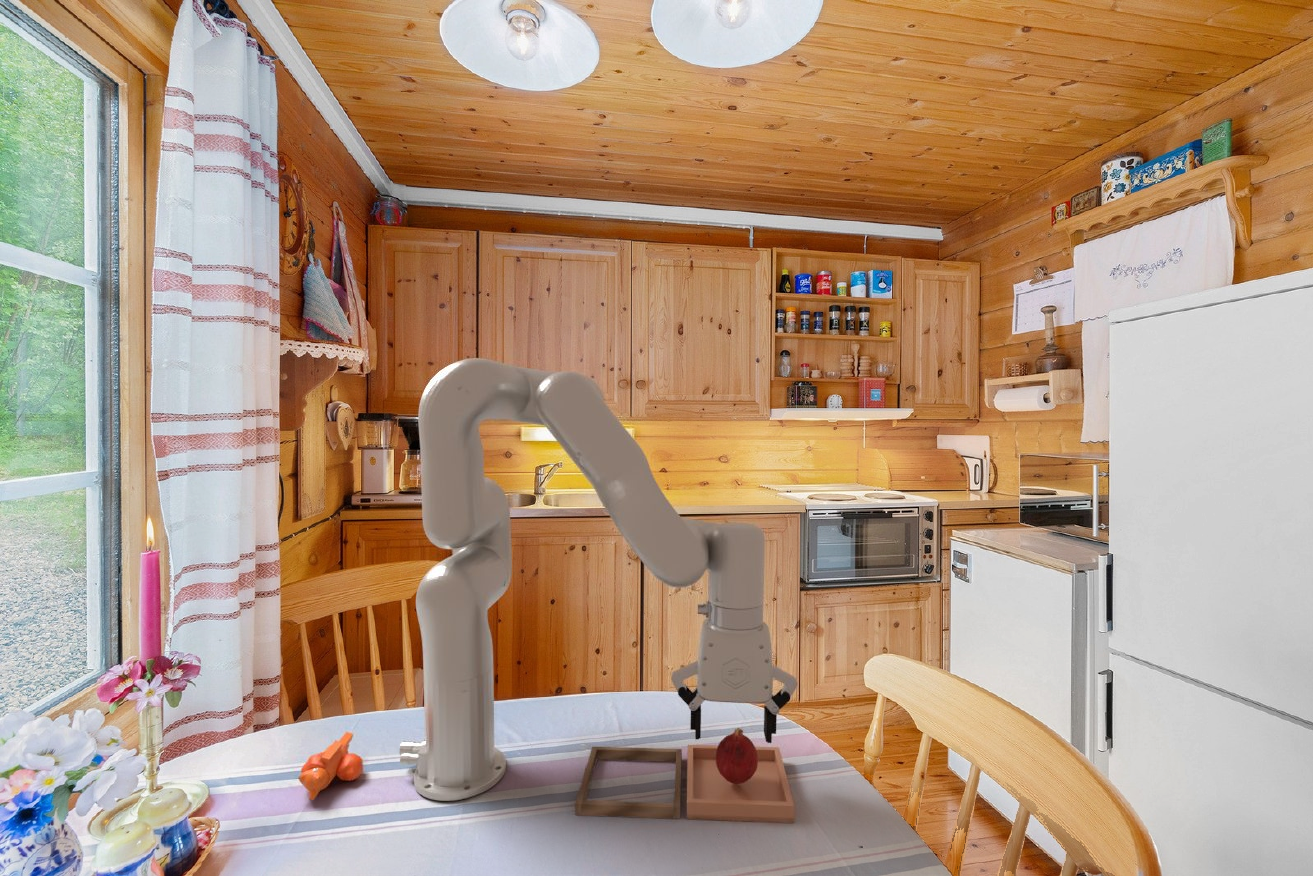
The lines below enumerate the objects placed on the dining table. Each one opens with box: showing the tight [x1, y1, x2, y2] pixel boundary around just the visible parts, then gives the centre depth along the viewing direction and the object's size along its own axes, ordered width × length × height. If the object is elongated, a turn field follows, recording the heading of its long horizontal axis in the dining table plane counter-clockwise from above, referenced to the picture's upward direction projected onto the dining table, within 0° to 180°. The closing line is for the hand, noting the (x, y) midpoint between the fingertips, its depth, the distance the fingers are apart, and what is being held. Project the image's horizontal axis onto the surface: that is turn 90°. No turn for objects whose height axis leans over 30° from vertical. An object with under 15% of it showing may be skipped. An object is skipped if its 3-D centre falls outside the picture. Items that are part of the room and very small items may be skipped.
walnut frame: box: [574, 745, 683, 820], centre depth 85 cm, size 14×14×2 cm
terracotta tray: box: [686, 744, 795, 824], centre depth 84 cm, size 14×14×2 cm
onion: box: [716, 727, 758, 784], centre depth 83 cm, size 6×6×8 cm
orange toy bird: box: [298, 731, 364, 801], centre depth 86 cm, size 5×8×12 cm
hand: (732, 736), depth 84 cm, fingers open, 9 cm apart
